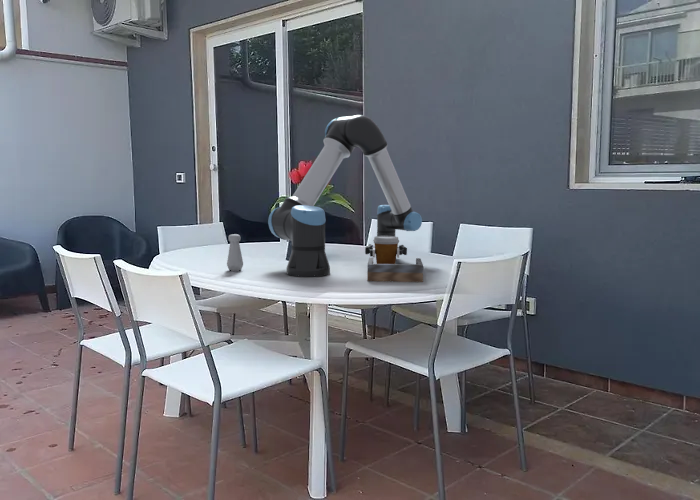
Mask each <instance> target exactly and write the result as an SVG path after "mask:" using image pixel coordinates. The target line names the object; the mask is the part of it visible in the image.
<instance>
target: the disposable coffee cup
mask: <svg viewBox="0 0 700 500" xmlns="http://www.w3.org/2000/svg"><path fill="white" fill-rule="evenodd" d="M372 242H373V244H374V246H375V253H376V254H375V264H396V261H397V247H399V242H400V240H399V237H398V236H396V235H395V236H377V235H376V236H374V237H373V240H372Z"/></svg>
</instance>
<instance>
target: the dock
mask: <svg viewBox="0 0 700 500" xmlns="http://www.w3.org/2000/svg"><path fill="white" fill-rule="evenodd" d="M367 261H368V262H367V272H366V273H367V274H366V275H367V276H366V277H367V278H366V279H367V280H366V281H367V282H392V281H393V282H399V283H400V282H405V283H406V282H408V283H423V281H424V263H423V262H422V258H421V257H419V258H418V257H417V258H416V259H415V264H409V263H408V264H407V263H405V264H404V263H403V264H402V263H395V264H377V263H374V257H368V260H367Z"/></svg>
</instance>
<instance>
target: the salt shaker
mask: <svg viewBox="0 0 700 500" xmlns="http://www.w3.org/2000/svg"><path fill="white" fill-rule="evenodd" d="M228 242H229V247H228V248H229V249H228V255H227V260H226V261H227V262H226V267H227V268H228V271H229V270H231V271H230V272H240V271H239V270H241V271H242V270H243V267H244V261H243V260H244V259H243V256H242V251H241V245H240V242H241V235H240V234H237V233H234V234H233V233H232V234H229V235H228Z"/></svg>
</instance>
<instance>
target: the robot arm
mask: <svg viewBox="0 0 700 500" xmlns="http://www.w3.org/2000/svg"><path fill="white" fill-rule="evenodd" d="M324 134H325V136H324V138H323V140H322V141H323V144H324V145H323V147H322V149H321V150H320V152H319V154H318V155H317V157H316V158H315V160H314V162H313V163H312V165H311V167H310V168H309V170H308V171H307V172H306V174H305V175H304V177H303V179H302V180H301V182H300V183H299V185H298V187H297V188H296V190H295V192H294V193H293V194H292V196H288V197H286V198H285V200H284V201H283V203H281V205H280V206H278V207H275V208H273V210H271V212H270V213H269V216H268V218H267V219H268V221H267V224H268V228H269V230H270V232H271V234H272V235H274V237H276V238H279V239H280V240H282V241H283V240H284V241H291V252H290V256H289V259H288V263H287V265H286V274H287V275H288V276H293V277H303V278H305V277H307V278H310V277H323V276H327V275H330V274H331V266H330V262H329V260H328V257H327V253H326V221H327V220H326V213H325V210H324V209H323V208H322V207H319V206H316V205H315V204H316V203H317V202H318V200H319V198H320V196H321V195H322V193H323V191H324V190H325V188H326V187H327V186H328V184H329V183H330V181H331V179H332V177H333V176H334V174H335V173H336V171H337V170H338V168H339V167H340V165H341V163H342V162H343V160H344V159H346V158H347V159H348V158H349V157H350V156H351V155H352V153H353V152H354V150H355V148H359V149H360V150H361V152H362V154H363V156H364V157H366V158H367V159H368V161H369V163H370V165H371V168H372V169H373V172H374V174H375V177H376V179H377V180H378V183H379V186H380V187H381V190H382V192H383V194H384V196H385V198H386V202H387V203H388V204H381V205H380V204H379V205H378V206H377V213H376V220H377V221H376V222H377V223H376V224H377V225H376V229H377V230H376V231H377V232H376V236H396V230H398V231H406V232H417V231H418V230H420V229H421V227H422V224H423V218H422V216H421V214H420V213H419V212H416V211H413V209H412V208H413V207H412V205H411V203H410V201H409V199H408V196H407V194H406V191H405V189H404V187H403V184H402V182H401V180H400V177H399V175H398V173H397V170H396V168H395V166H394V164H393V161H392V159H391V157H390V153H389V151H388V149H387V148H388V145H389V144H388V143H387V140H386V138H385V136H384V133H383V132H382V131H381V129H380V127H379V125H377V124H376V122H375V121H374V119H371V117H368V116H366V115H363V114H356V115H348V116H339V117H336V118H334V119H331V121H330V122H328V124H327V125H326V127H325V129H324ZM364 253H365V255H369V256H370V257H372V258H376V253H375V245H373V244H370V243H368V244H367V246H365V249H364ZM402 255H404V256H407V255H408V247H406V246H405V245H404V244H400V245H399V244H398V247H397V255H396V259H398V258H400V256H402Z"/></svg>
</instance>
